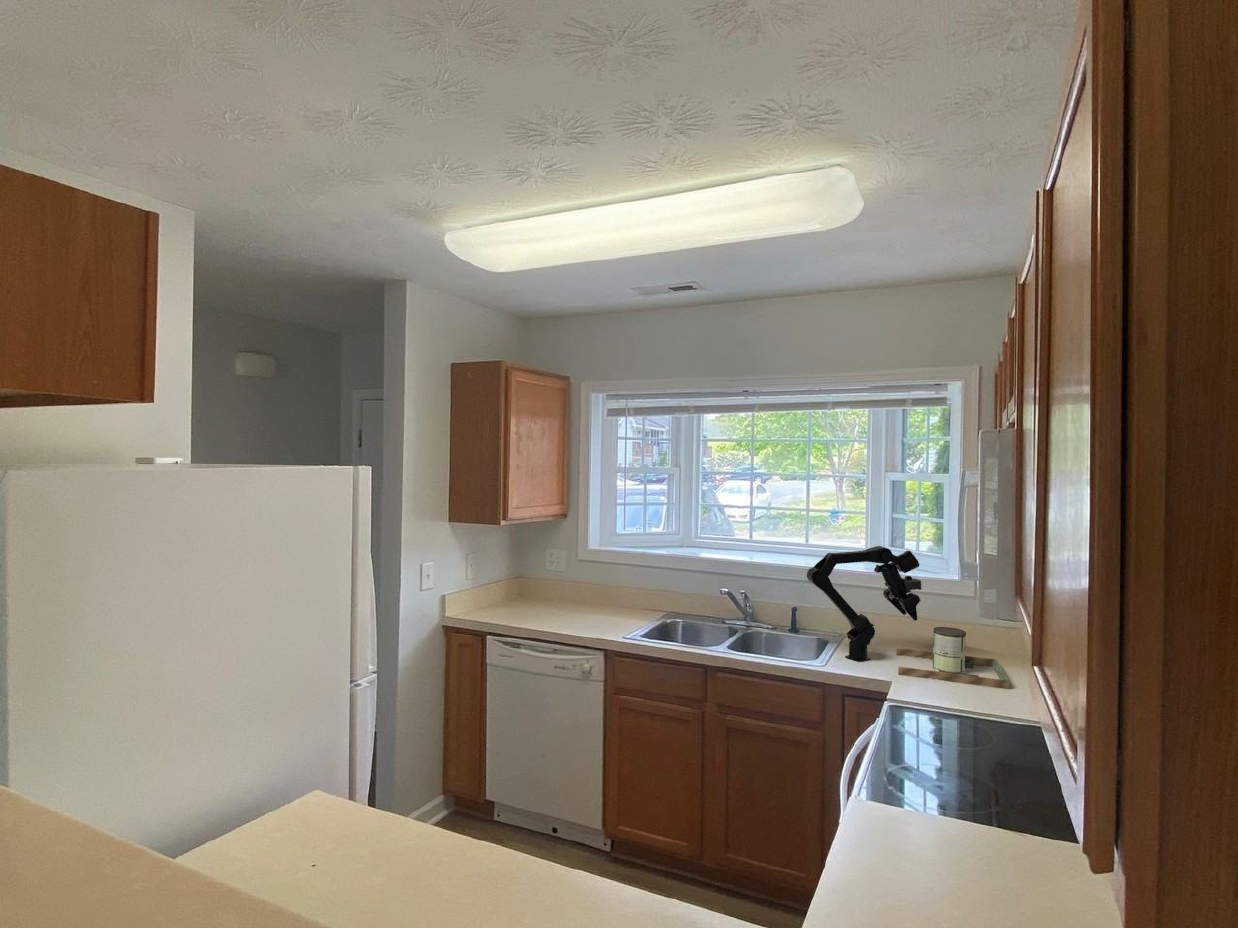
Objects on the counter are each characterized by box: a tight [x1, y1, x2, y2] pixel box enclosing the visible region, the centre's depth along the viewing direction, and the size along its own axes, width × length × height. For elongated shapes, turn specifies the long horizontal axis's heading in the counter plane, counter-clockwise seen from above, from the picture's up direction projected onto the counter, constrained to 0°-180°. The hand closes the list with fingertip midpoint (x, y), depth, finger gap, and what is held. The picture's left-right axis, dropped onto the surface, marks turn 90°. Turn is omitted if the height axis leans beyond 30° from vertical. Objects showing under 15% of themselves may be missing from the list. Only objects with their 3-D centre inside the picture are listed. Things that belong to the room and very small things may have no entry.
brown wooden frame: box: [896, 647, 1010, 690], centre depth 239 cm, size 33×27×3 cm
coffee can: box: [932, 626, 967, 674], centre depth 239 cm, size 10×10×14 cm
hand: (910, 617), depth 250 cm, fingers open, 9 cm apart
